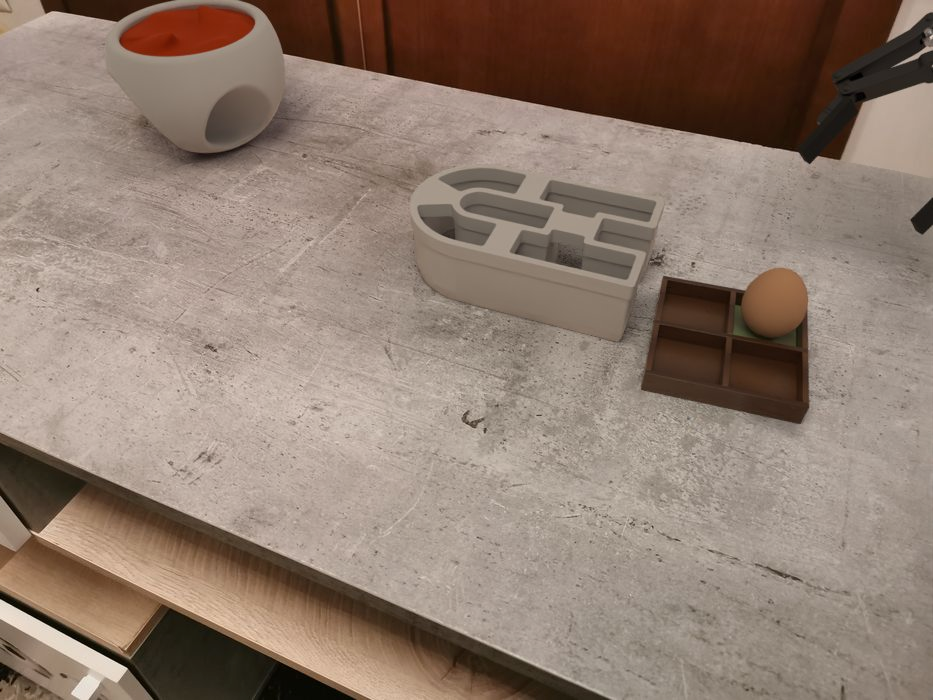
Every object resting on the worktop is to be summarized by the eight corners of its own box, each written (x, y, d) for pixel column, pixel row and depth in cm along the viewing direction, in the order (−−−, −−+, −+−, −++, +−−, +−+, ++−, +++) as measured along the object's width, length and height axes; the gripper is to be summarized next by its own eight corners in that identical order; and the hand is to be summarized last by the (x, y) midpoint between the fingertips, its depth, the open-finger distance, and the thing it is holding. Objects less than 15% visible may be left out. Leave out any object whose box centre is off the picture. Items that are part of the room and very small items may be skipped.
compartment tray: (800, 424, 72) (809, 407, 70) (640, 389, 75) (644, 373, 74) (800, 318, 82) (807, 301, 81) (659, 292, 86) (663, 275, 84)
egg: (726, 339, 79) (746, 281, 73) (741, 303, 83) (761, 246, 77) (787, 359, 77) (813, 301, 71) (799, 321, 81) (825, 264, 75)
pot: (315, 102, 119) (295, -12, 106) (270, 185, 103) (240, 61, 90) (175, 96, 121) (139, -17, 108) (109, 176, 105) (58, 54, 92)
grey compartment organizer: (622, 347, 80) (634, 287, 73) (391, 287, 87) (384, 228, 81) (653, 257, 90) (666, 198, 84) (445, 210, 98) (443, 153, 91)
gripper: (1192, 76, 59) (977, 276, 65) (927, -21, 74) (774, 148, 80) (1202, 23, 53) (966, 247, 59) (914, -71, 69) (751, 115, 75)
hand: (856, 190), depth 70 cm, fingers open, 13 cm apart
